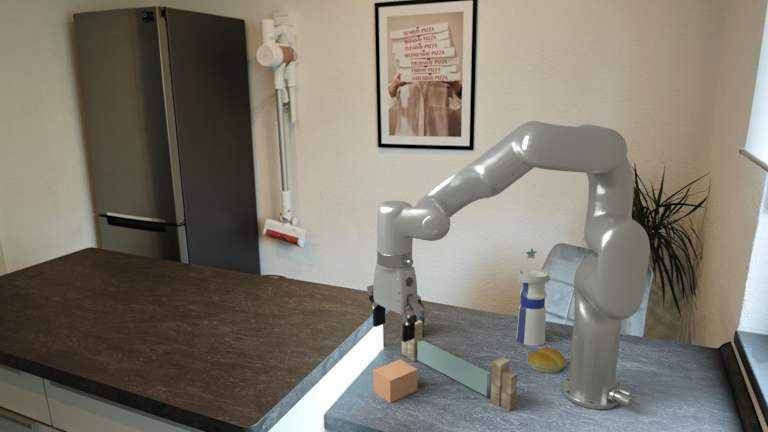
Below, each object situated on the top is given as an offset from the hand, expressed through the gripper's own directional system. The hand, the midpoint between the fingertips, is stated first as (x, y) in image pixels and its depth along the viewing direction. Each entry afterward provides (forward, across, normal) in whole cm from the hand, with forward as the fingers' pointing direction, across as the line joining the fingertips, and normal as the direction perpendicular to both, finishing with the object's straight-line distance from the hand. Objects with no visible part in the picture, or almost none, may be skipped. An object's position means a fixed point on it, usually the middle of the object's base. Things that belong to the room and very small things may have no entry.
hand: (393, 332), depth 119 cm
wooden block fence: (+14, -6, -14) cm, 21 cm away
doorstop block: (+15, 0, 0) cm, 15 cm away
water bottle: (+14, -6, -46) cm, 48 cm away
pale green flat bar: (+14, -6, -15) cm, 21 cm away
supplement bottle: (+15, +18, -24) cm, 33 cm away
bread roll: (+14, -16, -37) cm, 43 cm away
